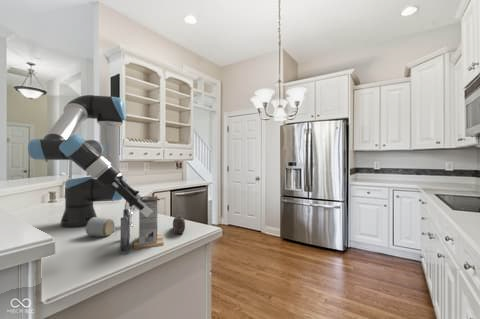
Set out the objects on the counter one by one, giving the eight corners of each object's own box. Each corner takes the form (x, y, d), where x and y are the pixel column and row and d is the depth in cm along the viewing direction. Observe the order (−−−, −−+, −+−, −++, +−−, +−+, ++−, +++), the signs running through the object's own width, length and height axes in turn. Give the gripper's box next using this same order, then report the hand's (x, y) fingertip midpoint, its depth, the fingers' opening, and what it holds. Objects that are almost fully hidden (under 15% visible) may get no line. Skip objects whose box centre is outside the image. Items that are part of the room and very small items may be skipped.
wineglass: (123, 225, 113) (123, 200, 113) (136, 223, 116) (136, 199, 116) (125, 227, 108) (125, 202, 108) (138, 225, 112) (138, 201, 112)
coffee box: (140, 237, 92) (140, 196, 92) (157, 235, 94) (157, 195, 94) (138, 244, 83) (138, 200, 83) (157, 242, 85) (157, 199, 86)
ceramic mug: (104, 238, 93) (104, 219, 93) (85, 238, 93) (85, 219, 94) (120, 231, 103) (120, 214, 104) (102, 231, 104) (103, 214, 104)
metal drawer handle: (123, 239, 93) (123, 209, 93) (129, 238, 94) (130, 208, 94) (120, 255, 77) (120, 218, 77) (128, 253, 78) (128, 218, 78)
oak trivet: (134, 240, 91) (134, 237, 91) (161, 236, 95) (161, 234, 95) (134, 248, 82) (134, 246, 82) (163, 244, 86) (163, 242, 86)
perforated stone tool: (173, 226, 111) (173, 212, 111) (184, 226, 112) (184, 211, 112) (172, 236, 96) (172, 219, 96) (185, 235, 97) (185, 219, 98)
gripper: (100, 176, 93) (140, 210, 99) (88, 183, 70) (142, 226, 76) (115, 163, 95) (153, 197, 101) (108, 165, 72) (159, 209, 79)
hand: (148, 210), depth 89 cm, fingers open, 13 cm apart
